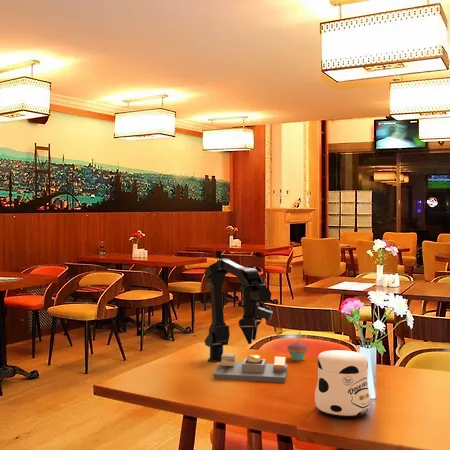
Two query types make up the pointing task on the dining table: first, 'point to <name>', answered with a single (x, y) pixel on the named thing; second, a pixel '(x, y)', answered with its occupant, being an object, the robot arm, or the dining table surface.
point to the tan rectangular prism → (228, 359)
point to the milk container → (342, 383)
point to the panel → (251, 372)
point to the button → (254, 359)
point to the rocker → (280, 362)
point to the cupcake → (297, 350)
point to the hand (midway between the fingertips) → (252, 341)
